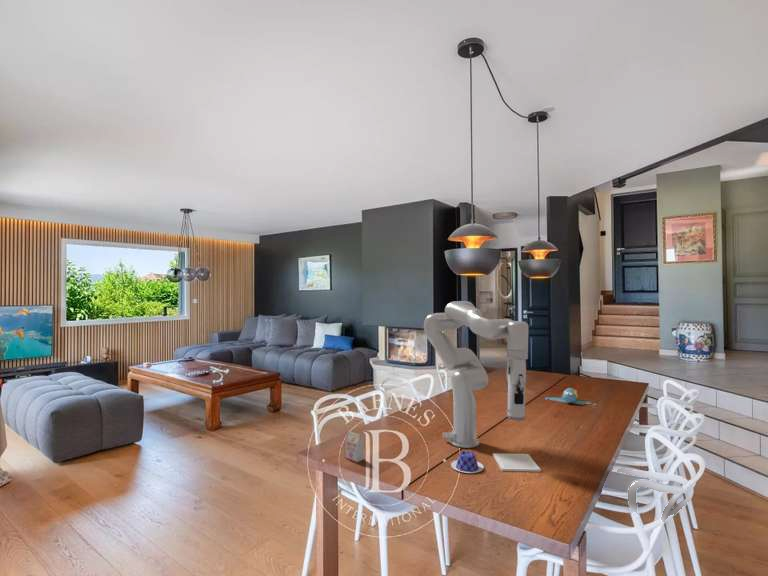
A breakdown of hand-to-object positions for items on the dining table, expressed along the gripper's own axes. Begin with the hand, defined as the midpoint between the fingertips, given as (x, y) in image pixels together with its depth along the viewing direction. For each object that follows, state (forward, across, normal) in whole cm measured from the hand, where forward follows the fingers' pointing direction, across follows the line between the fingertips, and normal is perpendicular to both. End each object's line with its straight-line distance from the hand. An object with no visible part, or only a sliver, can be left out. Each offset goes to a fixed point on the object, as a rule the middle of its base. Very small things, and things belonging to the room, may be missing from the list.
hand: (516, 400), depth 152 cm
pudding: (+25, +4, -18) cm, 31 cm away
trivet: (+24, 0, 0) cm, 24 cm away
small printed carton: (+25, -2, -62) cm, 67 cm away
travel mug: (+7, 0, 0) cm, 7 cm away
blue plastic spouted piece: (+26, -88, +57) cm, 108 cm away
